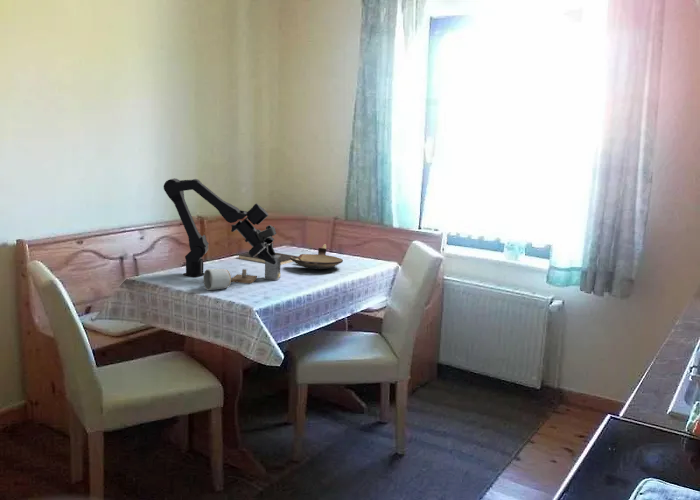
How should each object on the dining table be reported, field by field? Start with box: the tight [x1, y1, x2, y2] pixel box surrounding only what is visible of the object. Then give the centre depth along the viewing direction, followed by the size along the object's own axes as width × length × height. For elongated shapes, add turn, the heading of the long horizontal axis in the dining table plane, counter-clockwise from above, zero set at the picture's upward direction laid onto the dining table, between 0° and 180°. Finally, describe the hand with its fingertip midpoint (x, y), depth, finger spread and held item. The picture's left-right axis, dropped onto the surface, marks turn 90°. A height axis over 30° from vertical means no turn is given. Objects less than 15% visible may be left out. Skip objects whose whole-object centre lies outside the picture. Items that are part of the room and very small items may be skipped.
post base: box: [231, 268, 258, 284], centre depth 261 cm, size 8×8×4 cm
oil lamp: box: [290, 243, 344, 270], centre depth 290 cm, size 22×30×8 cm
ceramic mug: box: [202, 268, 232, 291], centre depth 247 cm, size 11×8×8 cm
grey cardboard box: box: [264, 255, 282, 281], centre depth 265 cm, size 6×5×9 cm
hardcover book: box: [237, 251, 299, 266], centre depth 303 cm, size 16×23×2 cm
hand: (276, 262), depth 264 cm, fingers closed on grey cardboard box, 5 cm apart
